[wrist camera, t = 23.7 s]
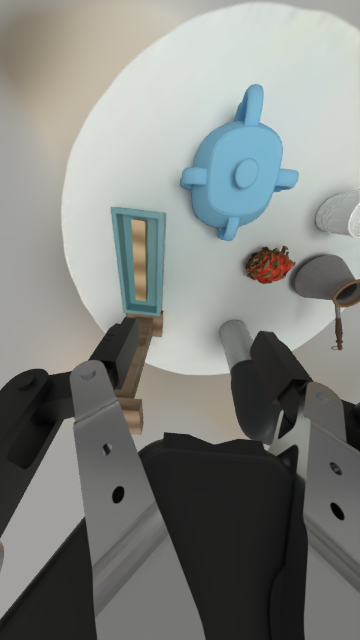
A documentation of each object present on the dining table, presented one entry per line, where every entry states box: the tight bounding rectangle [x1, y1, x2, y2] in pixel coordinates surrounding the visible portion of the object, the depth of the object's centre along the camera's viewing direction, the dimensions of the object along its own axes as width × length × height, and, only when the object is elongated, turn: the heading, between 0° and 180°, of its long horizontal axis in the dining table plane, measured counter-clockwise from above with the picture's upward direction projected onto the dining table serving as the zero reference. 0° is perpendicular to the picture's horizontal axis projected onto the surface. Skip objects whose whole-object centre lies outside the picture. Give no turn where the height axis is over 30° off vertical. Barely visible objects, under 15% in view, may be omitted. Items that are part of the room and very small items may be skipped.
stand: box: [74, 311, 163, 435], centre depth 42 cm, size 10×12×32 cm
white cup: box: [315, 189, 360, 238], centre depth 31 cm, size 8×8×10 cm
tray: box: [111, 207, 166, 316], centre depth 42 cm, size 26×11×5 cm, turn 174°
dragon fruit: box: [245, 246, 295, 284], centre depth 39 cm, size 8×8×12 cm
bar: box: [131, 219, 148, 301], centre depth 41 cm, size 20×3×3 cm, turn 173°
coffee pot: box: [295, 255, 360, 350], centre depth 40 cm, size 21×12×15 cm, turn 16°
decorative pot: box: [180, 84, 299, 241], centre depth 28 cm, size 16×16×14 cm
